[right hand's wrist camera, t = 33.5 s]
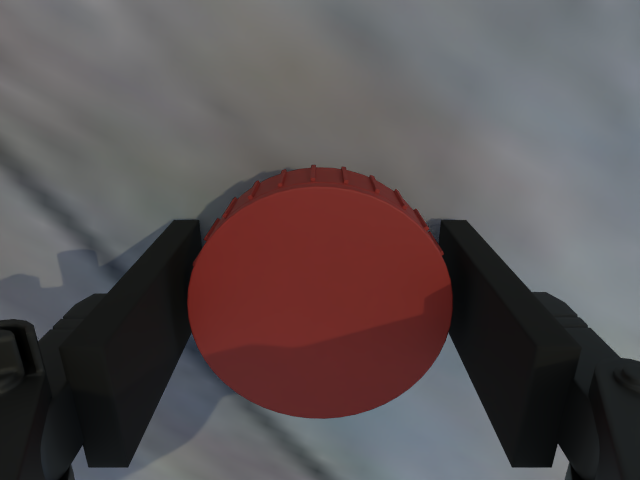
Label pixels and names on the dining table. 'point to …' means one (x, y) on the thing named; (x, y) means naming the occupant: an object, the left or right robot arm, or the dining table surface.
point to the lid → (320, 294)
